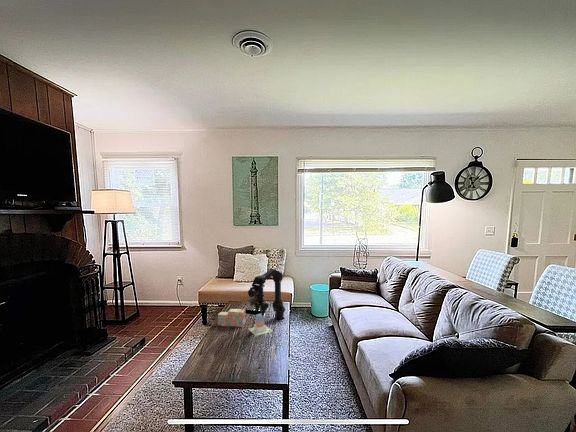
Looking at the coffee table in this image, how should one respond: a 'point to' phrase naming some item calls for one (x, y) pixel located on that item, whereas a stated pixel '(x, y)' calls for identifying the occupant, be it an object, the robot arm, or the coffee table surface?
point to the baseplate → (259, 332)
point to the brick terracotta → (260, 323)
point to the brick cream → (259, 328)
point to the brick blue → (259, 317)
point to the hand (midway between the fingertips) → (259, 313)
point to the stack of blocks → (232, 318)
